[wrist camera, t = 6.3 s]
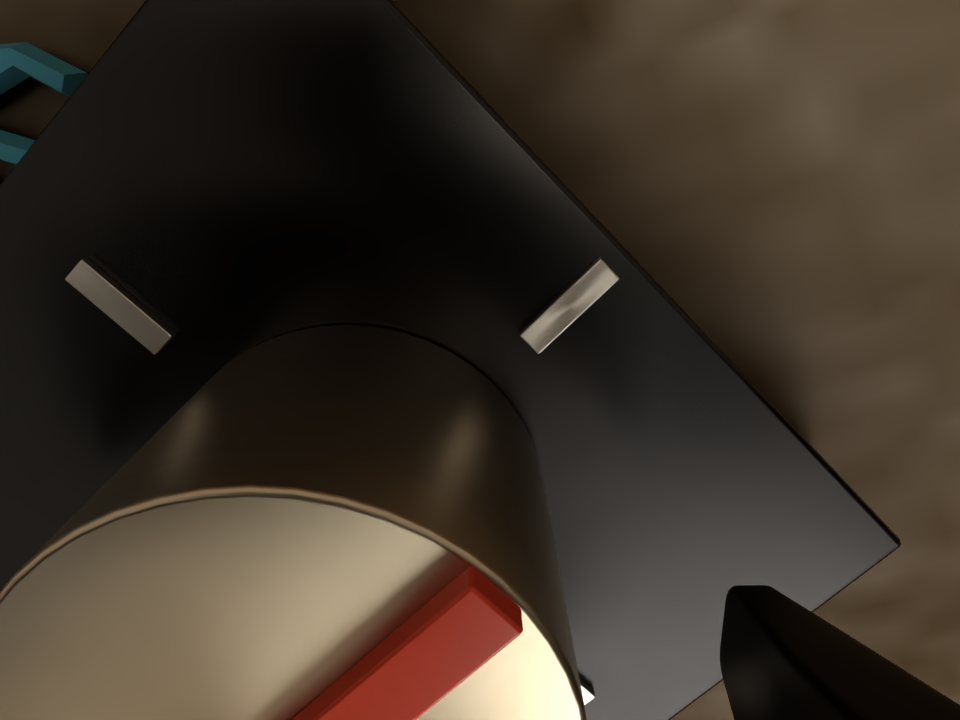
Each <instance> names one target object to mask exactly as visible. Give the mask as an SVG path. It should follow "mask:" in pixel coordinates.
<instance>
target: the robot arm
mask: <svg viewBox="0 0 960 720" xmlns="http://www.w3.org/2000/svg"><path fill="white" fill-rule="evenodd" d="M720 666H721V672H722V676H723V680H724V683H725V687H726V691H727V694H728V698H729V702H730V705H731V709H732V713H733V716H734V720H960V705H959V704H957V703H956V702H954V701H952V700H951V699H949V698H948V697H946V696H944V695H943V694H941V693H940V692H938V691H936V690H935V689H933V688H932V687H930V686H929V685H927V684H925V683H924V682H922V681H921V680H919V679H917V678H916V677H914V676H913V675H911V674H909V673H908V672H906V671H905V670H903V669H901V668H900V667H898V666H897V665H895V664H893V663H892V662H890V661H889V660H887V659H886V658H884V657H882V656H881V655H879V654H878V653H876V652H874V651H873V650H871V649H870V648H868V647H866V646H865V645H863V644H862V643H860V642H858V641H857V640H855V639H854V638H852V637H850V636H849V635H847V634H846V633H844V632H843V631H841V630H839V629H838V628H836V627H835V626H833V625H831V624H830V623H828V622H827V621H825V620H823V619H822V618H820V617H819V616H817V615H815V614H814V613H812V612H811V611H809V610H807V609H806V608H804V607H803V606H801V605H800V604H798V603H796V602H795V601H793V600H792V599H790V598H788V597H787V596H785V595H784V594H782V593H780V592H779V591H777V590H776V589H774V588H772V587H770V586H766V585H736V586H733V587H732V588H730V589H729V591H728V593H727V596H726V601H725V610H724V618H723V627H722V635H721V644H720Z"/></svg>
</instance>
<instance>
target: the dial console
mask: <svg viewBox="0 0 960 720" xmlns="http://www.w3.org/2000/svg"><path fill="white" fill-rule="evenodd" d="M334 325H358V326H373V327H379V328H384V329H389V330H394V331H399V332H403V333H406V334H409V335H412V336H415V337H418V338H421V339H424V340H427V341H429V342H431V343H433V344H435V345H437V346H439V347H441V348H443V349H446V350H448V351H450V352H451V353H453V354H454V355H456V356H458V357H459V358H461V359H462V360H464V361H465V362H467V363H468V364H470V365H472V366H473V367H474V368H475V369H476V370H478V371H479V372H480V373H481V374H482V375H484V376H485V377H486V378H487V379H488V380H489V381H491V382H492V383H493V385H494V386H495V387H496V388H497V389H498V390H499V391H500V392H501V393H502V394H503V395H504V397H505V398H506V399H507V400H508V401H509V403H510V404H511V405H512V407H513V408H514V410H515V411H516V413H517V414H518V416H519V417H520V418H521V420H522V422H523V424H524V426H525V428H526V430H527V432H528V434H529V436H530V437H531V439H532V441H533V444H534V447H535V450H536V453H537V456H538V459H539V462H540V467H541V472H542V477H543V483H544V488H545V494H546V499H547V505H548V510H549V515H550V521H551V526H552V532H553V537H554V543H555V548H556V554H557V559H558V564H559V570H560V575H561V581H562V586H563V592H564V597H565V603H566V608H567V614H568V619H569V624H570V630H571V635H572V641H573V646H574V652H575V657H576V663H577V668H578V673H579V679H580V684H581V690H582V695H583V701H584V706H585V712H586V717H587V720H670V719H671V718H673V717H674V716H675V715H677V714H678V713H679V712H681V711H682V710H683V709H685V708H686V707H687V706H689V705H690V704H691V703H693V702H694V701H695V700H697V699H698V698H699V697H701V696H702V695H703V694H705V693H706V692H707V691H709V690H710V689H711V688H713V687H714V686H715V685H717V684H718V683H719V682H721V681H722V680H723V676H722V672H721V666H720V644H721V635H722V627H723V618H724V610H725V601H726V596H727V593H728V591H729V589H730V588H732V587H733V586H736V585H766V586H770V587H772V588H774V589H776V590H777V591H779V592H780V593H782V594H784V595H785V596H787V597H788V598H790V599H792V600H793V601H795V602H796V603H798V604H800V605H801V606H803V607H804V608H806V609H807V610H809V611H811V612H814V611H815V610H816V609H818V608H819V607H820V606H822V605H823V604H824V603H826V602H827V601H828V600H830V599H831V598H832V597H834V596H835V595H836V594H838V593H839V592H840V591H842V590H843V589H844V588H846V587H847V586H848V585H850V584H851V583H852V582H854V581H855V580H856V579H858V578H859V577H860V576H862V575H863V574H864V573H866V572H867V571H868V570H870V569H871V568H872V567H874V566H875V565H876V564H878V563H879V562H880V561H882V560H883V559H884V558H886V557H887V556H888V555H890V554H891V553H892V552H893V551H895V550H896V549H897V548H899V547H900V545H901V543H900V540H899V538H898V537H897V536H896V535H895V534H894V533H893V532H892V531H891V529H890V528H889V527H888V526H887V525H886V524H885V523H884V522H883V521H882V520H881V519H880V518H879V517H878V516H877V515H876V514H875V513H874V511H873V510H872V509H871V508H870V507H869V506H868V505H867V504H866V503H865V502H864V501H863V500H862V499H861V498H860V497H859V496H858V495H857V493H856V492H855V491H854V490H853V489H852V488H851V487H850V486H849V485H848V484H847V483H846V482H845V481H844V480H843V479H842V478H841V477H840V475H839V474H838V473H837V472H836V471H835V470H834V469H833V468H832V467H831V466H830V465H829V464H828V463H827V462H826V461H825V460H824V459H823V457H822V456H821V455H820V454H819V453H818V452H817V451H816V450H815V449H814V448H813V447H812V446H811V445H810V444H809V443H808V442H807V441H806V439H805V438H804V437H803V436H802V435H801V434H800V433H799V432H798V431H797V430H796V429H795V428H794V427H793V426H792V425H791V424H790V423H789V421H788V420H787V419H786V418H785V417H784V416H783V415H782V414H781V413H780V412H779V411H778V410H777V409H776V408H775V407H774V406H773V405H772V403H771V402H770V401H769V400H768V399H767V398H766V397H765V396H764V395H763V394H762V393H761V392H760V391H759V390H758V389H757V388H756V387H755V385H754V384H753V383H752V382H751V381H750V380H749V379H748V378H747V377H746V376H745V375H744V374H743V373H742V372H741V371H740V370H739V369H738V367H737V366H736V365H735V364H734V363H733V362H732V361H731V360H730V359H729V358H728V357H727V356H726V355H725V354H724V353H723V352H722V351H721V349H720V348H719V347H718V346H717V345H716V344H715V343H714V342H713V341H712V340H711V339H710V338H709V337H708V336H707V335H706V334H705V333H704V331H703V330H702V329H701V328H700V327H699V326H698V325H697V324H696V323H695V322H694V321H693V320H692V319H691V318H690V317H689V316H688V315H687V313H686V312H685V311H684V310H683V309H682V308H681V307H680V306H679V305H678V304H677V303H676V302H675V301H674V300H673V299H672V298H671V297H670V295H669V294H668V293H667V292H666V291H665V290H664V289H663V288H662V287H661V286H660V285H659V284H658V283H657V282H656V281H655V280H654V279H653V277H652V276H651V275H650V274H649V273H648V272H647V271H646V270H645V269H644V268H643V267H642V266H641V265H640V264H639V263H638V262H637V261H636V259H635V258H634V257H633V256H632V255H631V254H630V253H629V252H628V251H627V250H626V249H625V248H624V247H623V246H622V245H621V244H620V243H619V241H618V240H617V239H616V238H615V237H614V236H613V235H612V234H611V233H610V232H609V231H608V230H607V229H606V228H605V227H604V226H603V225H602V223H601V222H600V221H599V220H598V219H597V218H596V217H595V216H594V215H593V214H592V213H591V212H590V211H589V210H588V209H587V208H586V207H585V205H584V204H583V203H582V202H581V201H580V200H579V199H578V198H577V197H576V196H575V195H574V194H573V193H572V192H571V191H570V190H569V189H568V187H567V186H566V185H565V184H564V183H563V182H562V181H561V180H560V179H559V178H558V177H557V176H556V175H555V174H554V173H553V172H552V171H551V169H550V168H549V167H548V166H547V165H546V164H545V163H544V162H543V161H542V160H541V159H540V158H539V157H538V156H537V155H536V154H535V153H534V151H533V150H532V149H531V148H530V147H529V146H528V145H527V144H526V143H525V142H524V141H523V140H522V139H521V138H520V137H519V136H518V135H517V133H516V132H515V131H514V130H513V129H512V128H511V127H510V126H509V125H508V124H507V123H506V122H505V121H504V120H503V119H502V118H501V117H500V115H499V114H498V113H497V112H496V111H495V110H494V109H493V108H492V107H491V106H490V105H489V104H488V103H487V102H486V101H485V100H484V99H483V97H482V96H481V95H480V94H479V93H478V92H477V91H476V90H475V89H474V88H473V87H472V86H471V85H470V84H469V83H468V82H467V81H466V79H465V78H464V77H463V76H462V75H461V74H460V73H459V72H458V71H457V70H456V69H455V68H454V67H453V66H452V65H451V64H450V63H449V61H448V60H447V59H446V58H445V57H444V56H443V55H442V54H441V53H440V52H439V51H438V50H437V49H436V48H435V47H434V46H433V45H432V43H431V42H430V41H429V40H428V39H427V38H426V37H425V36H424V35H423V34H422V33H421V32H420V31H419V30H418V29H417V28H416V27H415V25H414V24H413V23H412V22H411V21H410V20H409V19H408V18H407V17H406V16H405V15H404V14H403V13H402V12H401V11H400V10H399V9H398V7H397V6H396V5H395V4H394V3H393V2H392V1H391V0H146V1H145V2H144V4H143V5H142V6H141V7H140V9H139V10H138V11H137V12H136V14H135V15H134V16H133V17H132V19H131V20H130V21H129V22H128V24H127V25H126V26H125V28H124V29H123V30H122V31H121V33H120V34H119V35H118V36H117V38H116V39H115V40H114V41H113V43H112V44H111V45H110V47H109V48H108V49H107V50H106V52H105V53H104V54H103V55H102V57H101V58H100V59H99V60H98V62H97V63H96V64H95V66H94V67H93V68H92V69H91V71H90V72H89V73H88V74H87V76H86V77H85V78H84V79H83V81H82V82H81V83H80V85H79V86H78V87H77V88H76V90H75V91H74V92H73V93H72V95H71V96H70V97H69V98H68V100H67V101H66V102H65V104H64V105H63V106H62V107H61V109H60V110H59V111H58V112H57V114H56V115H55V116H54V117H53V119H52V120H51V121H50V123H49V124H48V125H47V126H46V128H45V129H44V130H43V131H42V133H41V134H40V135H39V136H38V138H37V139H36V140H35V142H34V143H33V144H32V145H31V147H30V148H29V149H28V150H27V152H26V153H25V154H24V155H23V157H22V158H21V159H20V161H19V162H18V163H17V164H16V166H15V167H14V168H13V169H12V171H11V172H10V173H9V174H8V176H7V177H6V178H5V179H4V181H3V182H2V183H1V185H0V591H1V590H2V589H3V588H4V586H5V585H6V584H7V583H8V581H9V580H10V579H11V578H12V576H13V575H14V574H15V573H16V572H17V571H18V570H19V569H20V568H21V567H22V566H23V565H24V564H25V563H26V562H27V561H28V560H29V559H30V558H31V557H32V556H33V555H34V554H35V553H36V552H37V551H38V550H39V549H40V548H41V547H42V546H43V545H44V544H45V543H46V542H47V541H48V540H49V539H50V538H51V537H52V536H53V535H54V534H55V533H56V532H57V531H58V530H59V529H60V528H61V527H62V526H63V525H64V524H65V523H66V522H67V521H68V520H69V519H70V518H71V517H72V516H73V515H74V514H75V513H76V512H77V511H78V510H79V509H80V508H81V507H82V506H83V505H84V504H85V503H86V502H87V501H88V500H89V499H90V498H91V497H92V496H93V495H94V494H95V493H96V492H97V491H98V490H99V489H100V488H101V487H102V486H103V485H104V484H105V483H106V482H107V481H108V480H109V479H110V478H111V477H112V476H113V475H114V474H115V473H116V472H117V471H118V470H119V469H120V468H121V467H122V466H123V465H124V464H125V463H126V462H127V461H128V460H129V459H130V458H131V457H132V456H133V455H134V454H135V453H136V452H137V451H138V450H139V449H140V448H141V447H142V446H143V445H144V444H145V443H146V442H147V441H148V440H149V439H150V438H151V437H152V436H153V435H154V434H155V433H156V432H157V431H158V430H159V429H160V428H161V427H162V426H163V425H164V424H165V423H166V422H167V421H168V420H169V419H170V418H171V417H172V416H173V415H174V414H175V413H176V412H177V411H178V410H179V409H180V408H181V407H182V406H183V405H184V404H185V403H186V402H187V401H188V400H189V399H190V398H191V397H192V396H193V395H194V394H195V393H196V392H197V391H198V390H199V389H200V388H201V387H202V386H203V385H204V384H205V383H206V382H207V381H208V380H209V379H211V378H212V377H213V376H214V375H215V374H216V373H217V372H218V371H219V370H221V369H222V368H223V367H224V366H225V365H226V364H227V363H229V362H230V361H232V360H233V359H235V358H236V357H238V356H239V355H241V354H242V353H244V352H245V351H247V350H249V349H251V348H253V347H255V346H257V345H259V344H261V343H263V342H265V341H267V340H269V339H272V338H275V337H278V336H281V335H284V334H287V333H290V332H294V331H298V330H303V329H309V328H314V327H319V326H334Z"/></svg>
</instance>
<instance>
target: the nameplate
mask: <svg viewBox="0 0 960 720" xmlns="http://www.w3.org/2000/svg"><path fill="white" fill-rule="evenodd" d="M30 76H31V77H32V78H34V79H36V80H38V81H40V82H41V83H43V84H45V85H47V86H49V87H50V88H52V89H54V90H56V91H58V92H60V93H61V94H63V95H65V96H67V97H70V96H71V95H72V93H73V92H74V91H75V90H76V88H77V87H78V86H79V85H80V83H81V82H82V81H83V79H84V78H85V77H86V76H87V73H86V72H84V71H82V70H80V69H78V68H76V67H74V66H72V65H70V64H68V63H66V62H64V61H62V60H60V59H59V58H57V57H55V56H53V55H51V54H49V53H47V52H45V51H43V50H41V49H39V48H37V47H35V46H33V45H31V44H29V43H27V42H19V43H8V44H0V95H1V94H3V93H5V92H6V91H8V90H9V89H11V88H12V87H14V86H16V85H17V84H19V83H20V82H22V81H24V80H25V79H27V78H28V77H30ZM34 142H35V140H32V139H29V138H26V137H23V136H19V135H16V134H13V133H10V132H6V131H3V130H0V160H2V161H6V162H9V163H12V164H17V163H18V162H19V161H20V159H21V158H22V157H23V155H24V154H25V153H26V152H27V150H28V149H29V148H30V147H31V145H32V144H33V143H34Z"/></svg>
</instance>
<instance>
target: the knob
mask: <svg viewBox="0 0 960 720" xmlns="http://www.w3.org/2000/svg"><path fill="white" fill-rule="evenodd" d="M0 720H587V717H586V712H585V706H584V701H583V695H582V690H581V684H580V679H579V673H578V668H577V663H576V657H575V652H574V646H573V641H572V635H571V630H570V624H569V619H568V614H567V608H566V603H565V597H564V592H563V586H562V581H561V575H560V570H559V564H558V559H557V554H556V548H555V543H554V537H553V532H552V526H551V521H550V515H549V510H548V505H547V499H546V494H545V488H544V483H543V477H542V472H541V467H540V462H539V459H538V456H537V453H536V450H535V447H534V444H533V441H532V439H531V437H530V436H529V434H528V432H527V430H526V428H525V426H524V424H523V422H522V420H521V418H520V417H519V416H518V414H517V413H516V411H515V410H514V408H513V407H512V405H511V404H510V403H509V401H508V400H507V399H506V398H505V397H504V395H503V394H502V393H501V392H500V391H499V390H498V389H497V388H496V387H495V386H494V385H493V383H492V382H491V381H489V380H488V379H487V378H486V377H485V376H484V375H482V374H481V373H480V372H479V371H478V370H476V369H475V368H474V367H473V366H472V365H470V364H468V363H467V362H465V361H464V360H462V359H461V358H459V357H458V356H456V355H454V354H453V353H451V352H450V351H448V350H446V349H443V348H441V347H439V346H437V345H435V344H433V343H431V342H429V341H427V340H424V339H421V338H418V337H415V336H412V335H409V334H406V333H403V332H399V331H394V330H389V329H384V328H379V327H373V326H358V325H334V326H319V327H314V328H309V329H303V330H298V331H294V332H290V333H287V334H284V335H281V336H278V337H275V338H272V339H269V340H267V341H265V342H263V343H261V344H259V345H257V346H255V347H253V348H251V349H249V350H247V351H245V352H244V353H242V354H241V355H239V356H238V357H236V358H235V359H233V360H232V361H230V362H229V363H227V364H226V365H225V366H224V367H223V368H222V369H221V370H219V371H218V372H217V373H216V374H215V375H214V376H213V377H212V378H211V379H209V380H208V381H207V382H206V383H205V384H204V385H203V386H202V387H201V388H200V389H199V390H198V391H197V392H196V393H195V394H194V395H193V396H192V397H191V398H190V399H189V400H188V401H187V402H186V403H185V404H184V405H183V406H182V407H181V408H180V409H179V410H178V411H177V412H176V413H175V414H174V415H173V416H172V417H171V418H170V419H169V420H168V421H167V422H166V423H165V424H164V425H163V426H162V427H161V428H160V429H159V430H158V431H157V432H156V433H155V434H154V435H153V436H152V437H151V438H150V439H149V440H148V441H147V442H146V443H145V444H144V445H143V446H142V447H141V448H140V449H139V450H138V451H137V452H136V453H135V454H134V455H133V456H132V457H131V458H130V459H129V460H128V461H127V462H126V463H125V464H124V465H123V466H122V467H121V468H120V469H119V470H118V471H117V472H116V473H115V474H114V475H113V476H112V477H111V478H110V479H109V480H108V481H107V482H106V483H105V484H104V485H103V486H102V487H101V488H100V489H99V490H98V491H97V492H96V493H95V494H94V495H93V496H92V497H91V498H90V499H89V500H88V501H87V502H86V503H85V504H84V505H83V506H82V507H81V508H80V509H79V510H78V511H77V512H76V513H75V514H74V515H73V516H72V517H71V518H70V519H69V520H68V521H67V522H66V523H65V524H64V525H63V526H62V527H61V528H60V529H59V530H58V531H57V532H56V533H55V534H54V535H53V536H52V537H51V538H50V539H49V540H48V541H47V542H46V543H45V544H44V545H43V546H42V547H41V548H40V549H39V550H38V551H37V552H36V553H35V554H34V555H33V556H32V557H31V558H30V559H29V560H28V561H27V562H26V563H25V564H24V565H23V566H22V567H21V568H20V569H19V570H18V571H17V572H16V573H15V574H14V575H13V576H12V578H11V579H10V580H9V581H8V583H7V584H6V585H5V586H4V588H3V589H2V590H1V591H0Z"/></svg>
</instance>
